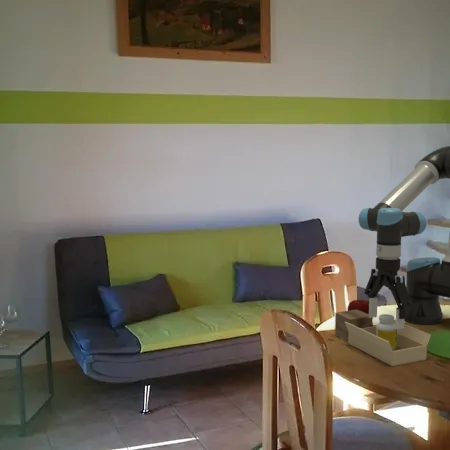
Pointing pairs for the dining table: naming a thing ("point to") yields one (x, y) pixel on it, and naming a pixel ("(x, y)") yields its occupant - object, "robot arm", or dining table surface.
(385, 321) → the pill bottle
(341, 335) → the block
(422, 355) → the carton
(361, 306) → the apple
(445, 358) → the dining table surface
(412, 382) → the dining table surface
